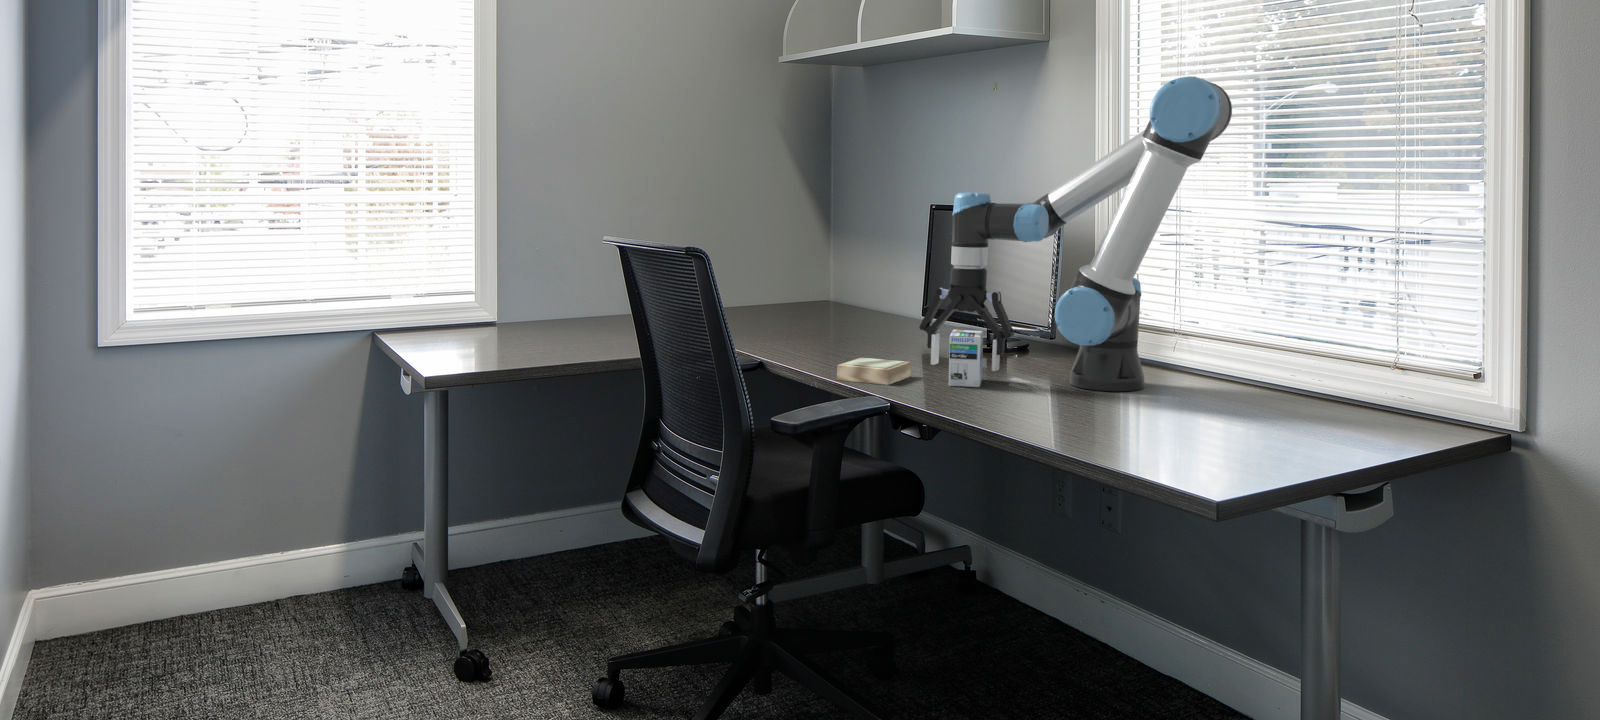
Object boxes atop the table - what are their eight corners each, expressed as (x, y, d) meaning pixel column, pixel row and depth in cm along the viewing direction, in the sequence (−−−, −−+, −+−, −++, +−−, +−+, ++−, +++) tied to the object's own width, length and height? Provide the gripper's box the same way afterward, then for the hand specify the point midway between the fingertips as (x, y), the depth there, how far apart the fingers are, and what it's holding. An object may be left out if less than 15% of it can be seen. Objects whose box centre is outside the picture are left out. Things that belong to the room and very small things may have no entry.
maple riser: (910, 376, 245) (910, 361, 244) (888, 384, 234) (888, 368, 234) (860, 371, 251) (861, 356, 250) (837, 379, 240) (837, 364, 240)
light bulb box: (980, 388, 232) (981, 336, 230) (947, 386, 233) (949, 335, 232) (982, 379, 242) (984, 330, 241) (951, 378, 244) (952, 328, 242)
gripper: (1032, 269, 232) (1026, 370, 235) (920, 262, 243) (916, 358, 247) (1021, 271, 225) (1016, 375, 229) (906, 264, 237) (903, 363, 240)
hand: (964, 367), depth 238 cm, fingers open, 13 cm apart
